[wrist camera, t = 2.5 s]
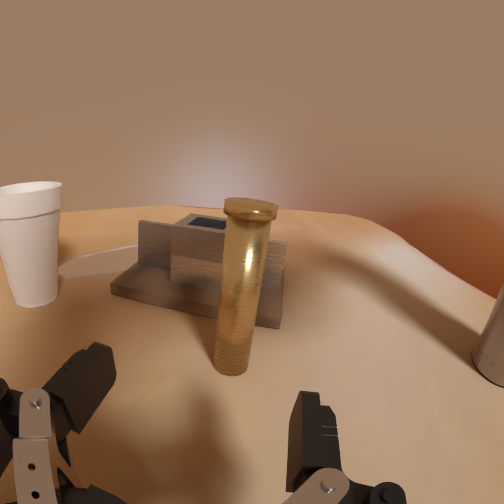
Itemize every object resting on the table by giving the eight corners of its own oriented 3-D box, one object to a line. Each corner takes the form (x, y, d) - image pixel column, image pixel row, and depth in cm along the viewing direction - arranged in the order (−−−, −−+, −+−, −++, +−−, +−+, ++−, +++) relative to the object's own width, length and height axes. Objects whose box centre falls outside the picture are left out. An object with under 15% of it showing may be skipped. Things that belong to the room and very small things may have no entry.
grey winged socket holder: (279, 277, 40) (288, 228, 38) (277, 301, 33) (288, 243, 31) (150, 254, 41) (151, 208, 39) (127, 272, 34) (127, 218, 32)
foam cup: (12, 280, 29) (2, 184, 25) (70, 275, 34) (65, 179, 29) (-3, 317, 21) (-24, 198, 17) (67, 312, 26) (56, 191, 22)
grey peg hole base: (281, 277, 44) (283, 268, 43) (278, 329, 30) (281, 317, 30) (156, 256, 45) (156, 247, 44) (111, 294, 32) (110, 283, 31)
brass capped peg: (253, 355, 26) (278, 202, 21) (248, 381, 22) (277, 211, 18) (214, 348, 26) (230, 195, 21) (205, 373, 22) (219, 203, 18)
